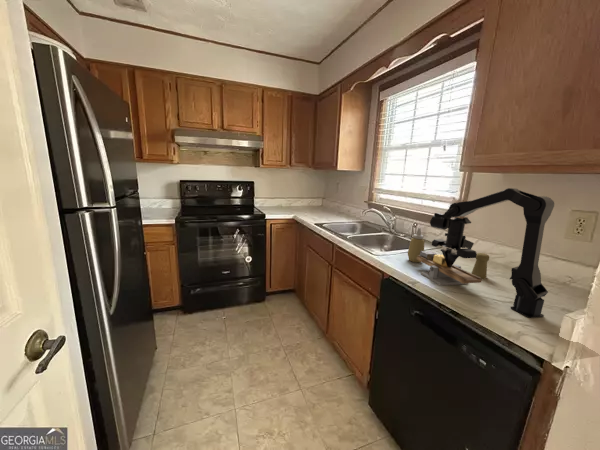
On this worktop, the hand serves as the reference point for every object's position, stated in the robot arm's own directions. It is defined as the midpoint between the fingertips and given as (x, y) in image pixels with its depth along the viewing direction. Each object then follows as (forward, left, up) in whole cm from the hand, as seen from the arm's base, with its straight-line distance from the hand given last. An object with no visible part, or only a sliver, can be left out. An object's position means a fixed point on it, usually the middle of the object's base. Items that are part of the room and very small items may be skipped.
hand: (449, 267), depth 110 cm
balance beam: (+2, 0, -1) cm, 2 cm away
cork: (+3, -20, -7) cm, 21 cm away
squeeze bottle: (+25, -2, -7) cm, 26 cm away
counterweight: (+14, 0, -1) cm, 14 cm away
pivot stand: (+2, 0, -6) cm, 7 cm away
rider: (+5, 0, -1) cm, 5 cm away
